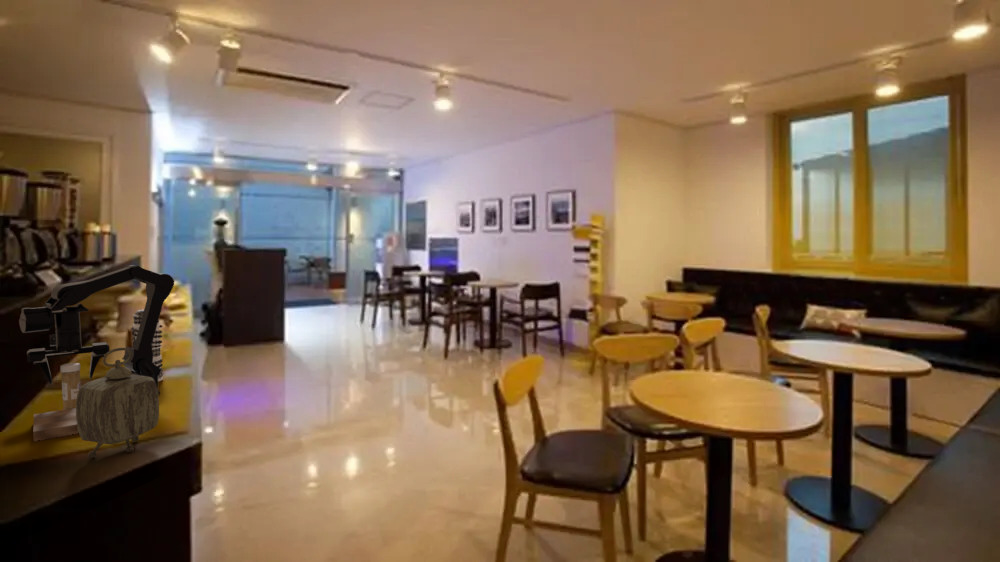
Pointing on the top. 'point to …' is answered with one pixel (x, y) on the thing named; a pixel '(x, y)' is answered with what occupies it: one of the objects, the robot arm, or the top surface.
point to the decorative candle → (155, 343)
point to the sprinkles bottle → (70, 384)
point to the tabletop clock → (117, 406)
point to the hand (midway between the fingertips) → (71, 380)
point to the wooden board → (55, 424)
